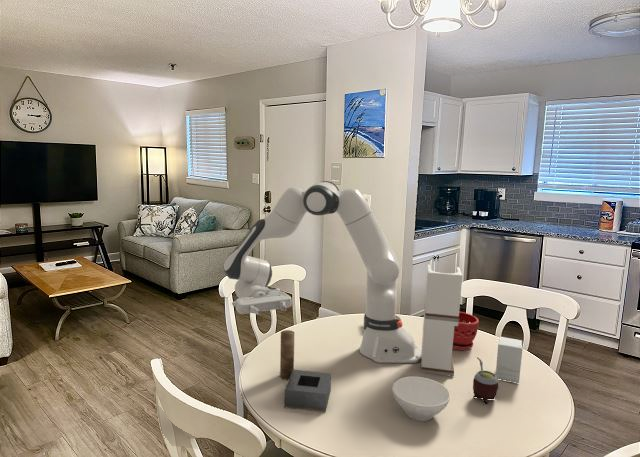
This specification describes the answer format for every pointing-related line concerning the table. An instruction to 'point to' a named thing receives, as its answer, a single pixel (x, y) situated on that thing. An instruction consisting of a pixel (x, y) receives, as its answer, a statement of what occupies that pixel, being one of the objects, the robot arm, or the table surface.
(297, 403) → the socket block
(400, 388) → the bowl
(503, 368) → the supplement box
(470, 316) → the plant pot
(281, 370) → the walnut pin
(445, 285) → the striped white pillar
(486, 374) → the mate gourd
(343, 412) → the table surface
